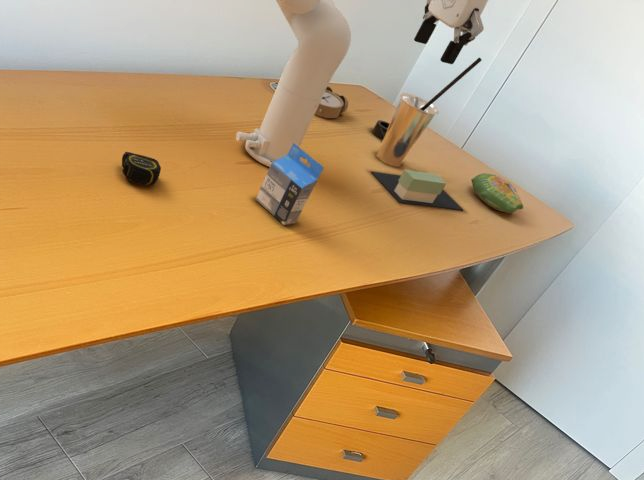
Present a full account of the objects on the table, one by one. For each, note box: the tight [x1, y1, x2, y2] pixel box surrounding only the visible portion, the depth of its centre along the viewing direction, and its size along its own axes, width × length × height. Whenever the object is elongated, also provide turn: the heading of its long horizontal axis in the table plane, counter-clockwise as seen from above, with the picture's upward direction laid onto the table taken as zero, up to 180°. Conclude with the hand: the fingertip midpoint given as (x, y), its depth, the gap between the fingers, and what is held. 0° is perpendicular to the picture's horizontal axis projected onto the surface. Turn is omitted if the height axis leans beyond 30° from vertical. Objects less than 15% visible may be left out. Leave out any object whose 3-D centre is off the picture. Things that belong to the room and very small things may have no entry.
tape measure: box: [121, 151, 162, 186], centre depth 126 cm, size 7×7×4 cm
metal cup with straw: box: [376, 57, 483, 168], centre depth 167 cm, size 11×11×30 cm
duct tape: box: [371, 119, 390, 141], centre depth 188 cm, size 8×10×3 cm
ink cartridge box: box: [255, 143, 325, 226], centre depth 132 cm, size 9×4×12 cm, turn 37°
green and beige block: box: [394, 169, 447, 203], centre depth 161 cm, size 10×4×6 cm, turn 109°
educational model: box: [470, 172, 524, 214], centre depth 176 cm, size 13×16×6 cm
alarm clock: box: [314, 85, 349, 119], centre depth 189 cm, size 11×5×15 cm
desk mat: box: [370, 170, 464, 212], centre depth 167 cm, size 20×13×1 cm, turn 109°
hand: (432, 52), depth 141 cm, fingers open, 9 cm apart
